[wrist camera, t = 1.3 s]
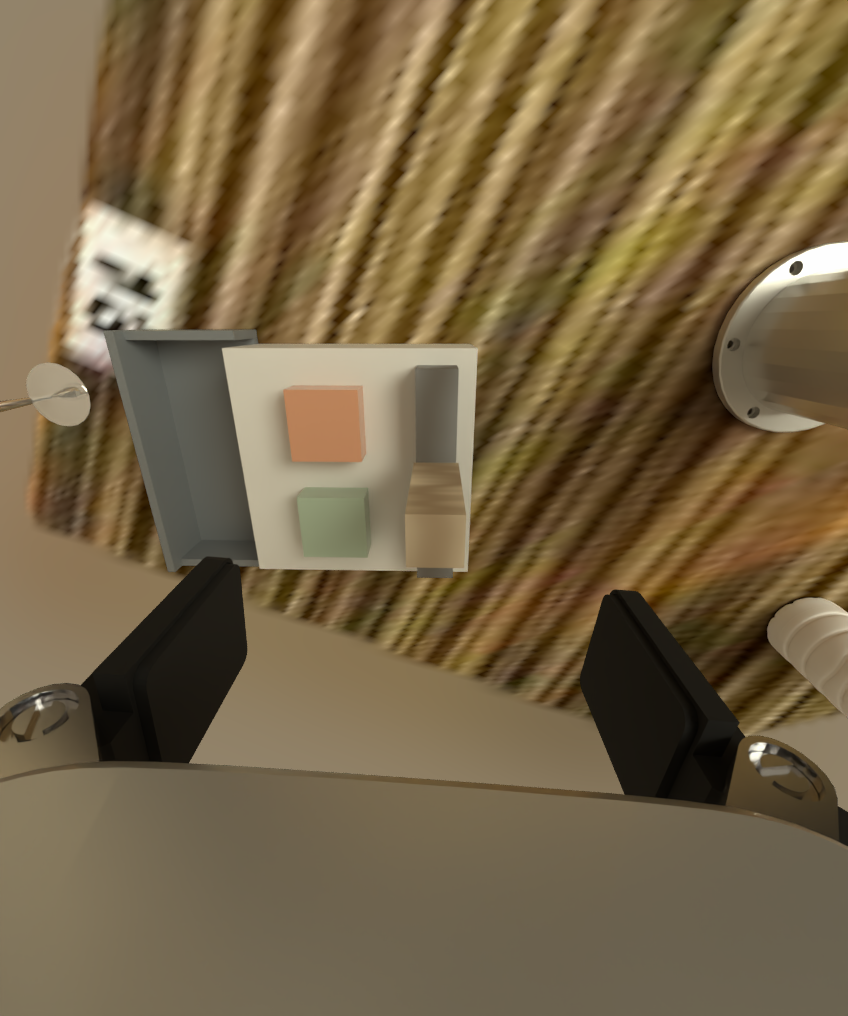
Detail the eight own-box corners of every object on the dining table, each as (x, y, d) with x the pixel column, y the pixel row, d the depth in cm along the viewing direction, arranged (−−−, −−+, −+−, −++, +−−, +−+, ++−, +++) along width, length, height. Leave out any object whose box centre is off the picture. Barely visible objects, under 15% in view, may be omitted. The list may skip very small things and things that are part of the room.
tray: (255, 329, 32) (225, 330, 28) (286, 543, 39) (266, 573, 35) (150, 329, 33) (103, 330, 28) (199, 542, 40) (168, 571, 35)
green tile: (368, 487, 31) (363, 498, 29) (371, 544, 32) (367, 557, 31) (305, 487, 31) (296, 497, 29) (311, 543, 33) (303, 556, 31)
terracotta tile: (362, 385, 28) (357, 389, 26) (366, 453, 30) (361, 462, 28) (293, 385, 28) (283, 389, 26) (301, 453, 30) (292, 461, 28)
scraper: (459, 365, 27) (471, 388, 18) (453, 560, 33) (460, 659, 23) (414, 365, 27) (402, 388, 18) (416, 559, 33) (407, 658, 23)
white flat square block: (470, 343, 32) (477, 348, 27) (463, 536, 39) (467, 571, 33) (258, 343, 33) (221, 348, 27) (284, 534, 39) (259, 568, 34)
